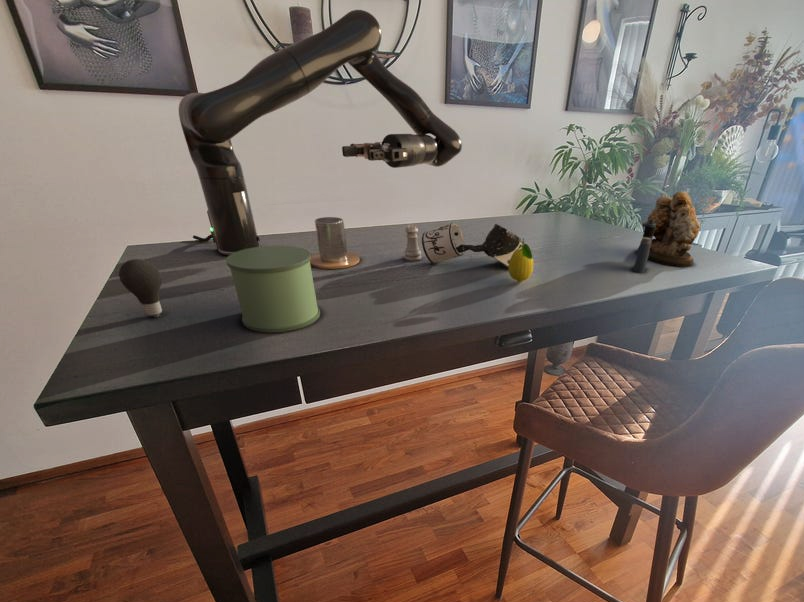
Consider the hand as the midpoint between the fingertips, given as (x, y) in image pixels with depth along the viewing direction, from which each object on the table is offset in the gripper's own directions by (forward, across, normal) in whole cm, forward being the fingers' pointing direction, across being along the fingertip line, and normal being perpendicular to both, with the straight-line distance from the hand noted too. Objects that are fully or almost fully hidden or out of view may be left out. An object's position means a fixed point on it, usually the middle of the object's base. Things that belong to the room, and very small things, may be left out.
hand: (355, 153), depth 102 cm
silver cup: (+10, 0, +22) cm, 24 cm away
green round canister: (+37, +19, +23) cm, 48 cm away
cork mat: (+10, 0, +23) cm, 25 cm away
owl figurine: (-52, +62, +23) cm, 85 cm away
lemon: (-7, +42, +23) cm, 49 cm away
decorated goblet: (-11, +26, +23) cm, 36 cm away
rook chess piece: (-4, +13, +23) cm, 27 cm away
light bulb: (+51, +2, +24) cm, 56 cm away
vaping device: (-36, +61, +23) cm, 74 cm away
